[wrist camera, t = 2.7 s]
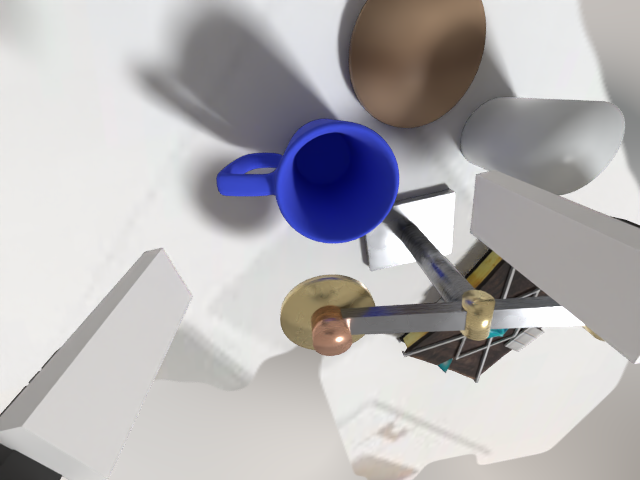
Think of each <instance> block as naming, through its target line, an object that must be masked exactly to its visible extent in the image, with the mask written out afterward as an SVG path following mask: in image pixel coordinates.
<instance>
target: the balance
mask: <svg viewBox="0 0 640 480" xmlns="http://www.w3.org/2000/svg"><path fill="white" fill-rule="evenodd" d="M454 202H455V192H454V191H452V190H451V189H449V190H445V191H440V192H436V193H431V194H427V195H423V196H418V197H414V198H409V199H405V200H400V201H396V202H394V204H393V206H392V208H391V210H390V212H389V213H388V215H387V216H386V217H385V219H384V220H383V221H382V222H381V223H380V224H379V225H378V226H377V227H376V228H375V229H373V230H372V231H371V232H369V233H367V234H366V235H365V242H366V250H367V258H368V266H369V268H370V271H374V270H378V269H383V268H387V267H392V266H396V265H401V264H405V263H410V262H414V261H416V262H417V263H418V265H419V266H420V267H421V269H422V270H423V271H424V273H425V274H426V275H427V277H428V278H429V280H430V281H431V282H432V284H433V285H434V286H435V288H436V289H437V291H438V292H439V293H440V295H441V296H442V297H443V299H444V300H445V302H442V303H426V304H409V305H393V306H376V307H375V303H374V301H373V298H372V296H371V293H370V292H369V290H368V289H367V288H366V287H365V286H364V285H363V284H362V283H360V282H359V281H357V280H355V279H353V278H350V277H347V276H342V275H322V276H317V277H313V278H310V279H308V280H306V281H304V282H302V283H300V284H298V285H297V286H296V287H294V288H293V289H292V290H291V291H290V292H289V293H288V294H287V296H286V297H285V299H284V301H283V303H282V307H281V317H280V322H281V327H282V330H283V332H284V334H285V335H286V336H287V337H288V338H289V339H290V340H291V341H292V342H293V343H295V344H297V345H299V346H301V347H304V348H307V349H312V350H316V352H318V353H320V354H322V355H326V356H334V355H339V354H341V353H344V352H345V351H347V350H348V349H349V348H350V346H351V345H352V343H354V342H356V341H357V340H359V339H360V338H362V337H363V336H364V335H365V334H385V333H410V332H434V331H458V330H460V331H461V333H462V334H463V335H464V336H465V337H467V338H469V339H471V340H476V341H481V340H485V339H486V338H487V337H488V336H489V332H490V329H507V328H532V327H556V326H582V327H583V328H584V329H585V330H586V331H588V332H589V333H590V334H591V335H593V336H594V337H595V338H597V339H599V340H601V341H604V340H603V339H602V338H601V337H599V336H598V335H597V334H596V333H594V332H593V331H592V330H591V329H589V328H588V327H587V326H586V325H584V324H583V323H582V322H581V321H580V320H578V319H577V318H576V317H575V316H573V315H572V314H571V313H570V312H568V311H567V310H566V309H565V308H563V307H562V306H561V305H560V304H558V303H557V302H556V301H555V300H553V299H552V298H551V297H550V296H541V297H525V298H508V299H494V298H493V297H492V296H491V295H490V294H488V293H487V292H484V291H481V290H475V288H474V287H473V286H472V285H471V284H470V283H469V282H468V281H467V280H466V279H465V278H464V277H463V275H462V274H461V273H460V272H459V271H458V270H457V269H456V268H455V267H454V266H453V265H452V263H451V262H450V261H449V260H448V259H447V258H446V257H445V256H444V255H446V254H450V253H451V244H452V230H453V216H454Z"/></svg>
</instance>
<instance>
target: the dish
mask: <svg viewBox="0 0 640 480" xmlns="http://www.w3.org/2000/svg"><path fill="white" fill-rule="evenodd" d="M485 38H486V20H485V12H484V7H483V4H482V0H367V2H366V3H365V5H364V6H363V8H362V10H361V12H360V14H359V16H358V18H357V21H356V23H355V26H354V29H353V33H352V36H351V41H350V48H349V72H350V78H351V82H352V86H353V89H354V91H355V94H356V96H357V98H358V100H359V101H360V103H361V105H362V106H363V107H364V108H365V110H366V111H367V112H368V113H369V114H370V115H372V116H373V117H374V118H376V119H377V120H379V121H381V122H383V123H385V124H388V125H391V126H395V127H400V128H413V127H419V126H422V125H426V124H428V123H431V122H433V121H435V120H437V119H438V118H440V117H442V116H443V115H444V114H446V113H447V112H448V111H449V110H450V109H452V108H453V107H454V106H455V105H456V104H457V102H458V101H459V100H460V99H461V98H462V97H463V95H464V94H465V92H466V91H467V90H468V88H469V86H470V85H471V83H472V81H473V79H474V77H475V75H476V73H477V71H478V68H479V65H480V62H481V59H482V55H483V51H484V45H485Z"/></svg>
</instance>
